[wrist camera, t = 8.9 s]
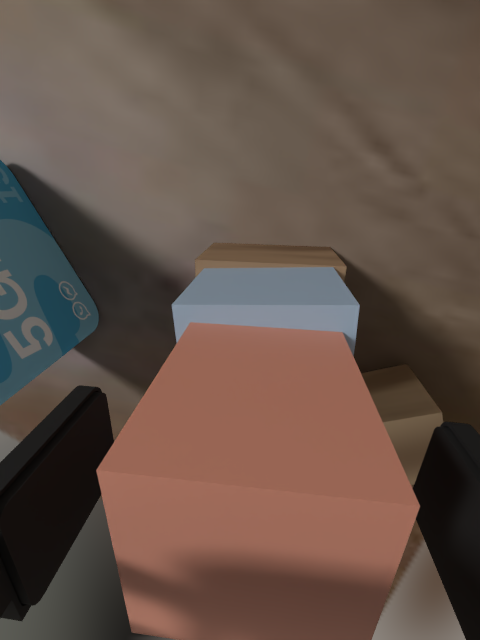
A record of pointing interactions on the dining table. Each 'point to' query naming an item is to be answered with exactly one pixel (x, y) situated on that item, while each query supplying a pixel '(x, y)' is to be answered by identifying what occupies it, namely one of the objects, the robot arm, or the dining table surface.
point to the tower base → (268, 257)
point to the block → (404, 413)
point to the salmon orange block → (256, 492)
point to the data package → (35, 293)
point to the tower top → (269, 300)
